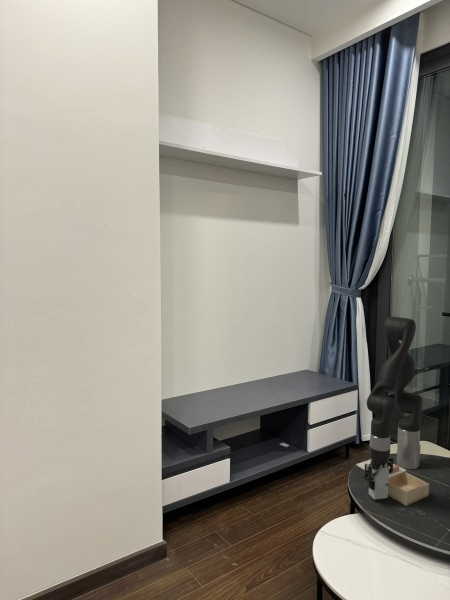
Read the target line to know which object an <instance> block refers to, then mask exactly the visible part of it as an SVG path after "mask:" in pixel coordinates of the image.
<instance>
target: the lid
mask: <svg viewBox="0 0 450 600" xmlns="http://www.w3.org/2000/svg"><path fill="white" fill-rule="evenodd" d="M370 462H371V458H370V459H368V460H365V461H362V462H360V463H359V462H358V463H356V466H357V467H359V468H360V469H362V470H364V471H365V464H370ZM389 469H390V466H389ZM404 472H406V473H407V470H406V468H403V467H401V466H399V465H398V464H395V463H393V472H392V473H390V475H389V477H388V478H391V477H393V476H396V475H399V474H401V473H404Z"/></svg>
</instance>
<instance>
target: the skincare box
mask: <svg viewBox="0 0 450 600" xmlns="http://www.w3.org/2000/svg"><path fill="white" fill-rule="evenodd" d="M372 469H373V468H372ZM372 471H373V472H374V473H376V471H377V470H375V469H373V470H372ZM373 476H374V474H372V477H373ZM388 477H389V468H388V467H386V468H385V467H382V469H381V470H380V472H379V475H378V476H377V477H376V479H375V490H372V489H370V488H369V487H368V495H369V496H370V497H371V498H372V499H373V500H381V499H387V498H389V496H388Z"/></svg>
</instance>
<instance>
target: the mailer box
mask: <svg viewBox="0 0 450 600" xmlns="http://www.w3.org/2000/svg"><path fill="white" fill-rule="evenodd" d="M429 492H430V483H428V482H426V481H424V480H423V479H420V478H418V477H417V476H415V475H413V474H410V473H408V472H407V471H406V472H404V473H401V474H399V475H396V476H393V477H391V478H388V497H390V498H391V499H394V500H395V501H397V502H399V503H400V504H402V505H403V506H405V507H407V506H410V505H412V504H414V503H416V502H419V501H421V500H423V499H425V498H427V497H429V496H430V494H429Z"/></svg>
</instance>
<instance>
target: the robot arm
mask: <svg viewBox="0 0 450 600" xmlns="http://www.w3.org/2000/svg"><path fill="white" fill-rule="evenodd" d="M416 325H417V324H416V322H415V320H414V319H413V318H407V317H400V316H388V317H387V318H386V319H385V321H384V326H383V330H384V331H383V332H384V336H385V340H386V344H387V347H388V351H389V358H387V359H386V360H385V361H384V362H383V364H382V365H381V368H380V371H379V373H378V377H377V381H376V383H375V384H374V387H373V389H372V390H371V391H370V394H369V395H368V396H367V399H366V407H367V409H368V411H370V412H371V413H376V414H379V415H382V416H383V417H375V418H372V419H371V422H370V435H369V450H368V452H369V454H368V456H369V458H370V459H371V462H370V464H365V470H364V479H366V480H367V481H368V489H369V488H370V489H372V490H375V479H376V477H377V476H378V475H379V472H380V470H381V469H382V467H385V468H386V467H388V468H389V466H390V469H389V475H390V473H392V472H393V464H394V458H393V457H391V425H392V422H393V421H392V420H393V419H394V415H395V412H396V410H397V411H398V412H401V413H403V414H407V415H411V417H405V418H401V419H399V420H398V422H397V443H396V444H397V446H396V447H397V449H396V465H398V466H399V467H401V468H403V469H405V470H406V469H407V470H416V469H418V468H419V467H420V465H421V463H420V462H421V446H422V445H421V444H420V442H421V424H422V423H421V422H422V411H423V397H422V395H421V394H418V393H412V392H408V391H405V388H406V387H407V386H408V385H410V383H411V382H412V381H413V379H414V378H415V375H416V368H415V367H416V366H415V361H414V359H413V357H412V356H411V354H410V352H409V350H410V349H411V345H412V343H413V341H414V337H415V335H416V331H417V330H416V329H417V328H416V327H417V326H416ZM400 341H401V342H400ZM386 392H394V398H393V397H390V396H387V395H383V394H384V393H386ZM372 468H373V469H375V470H377V471H376V473H374V472H373V471H372V470H373V469H372ZM372 474H374V476H373V477H372Z"/></svg>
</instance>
